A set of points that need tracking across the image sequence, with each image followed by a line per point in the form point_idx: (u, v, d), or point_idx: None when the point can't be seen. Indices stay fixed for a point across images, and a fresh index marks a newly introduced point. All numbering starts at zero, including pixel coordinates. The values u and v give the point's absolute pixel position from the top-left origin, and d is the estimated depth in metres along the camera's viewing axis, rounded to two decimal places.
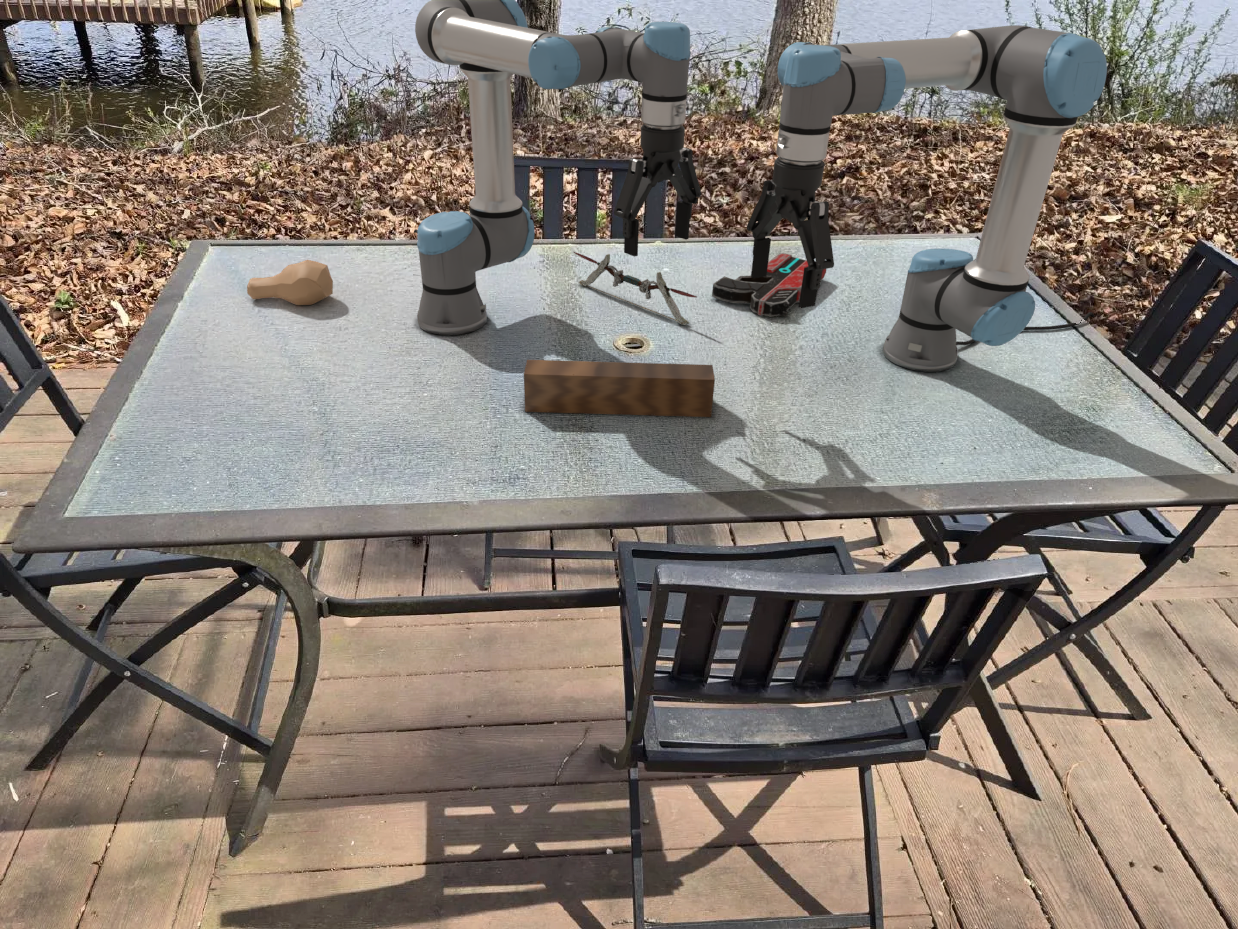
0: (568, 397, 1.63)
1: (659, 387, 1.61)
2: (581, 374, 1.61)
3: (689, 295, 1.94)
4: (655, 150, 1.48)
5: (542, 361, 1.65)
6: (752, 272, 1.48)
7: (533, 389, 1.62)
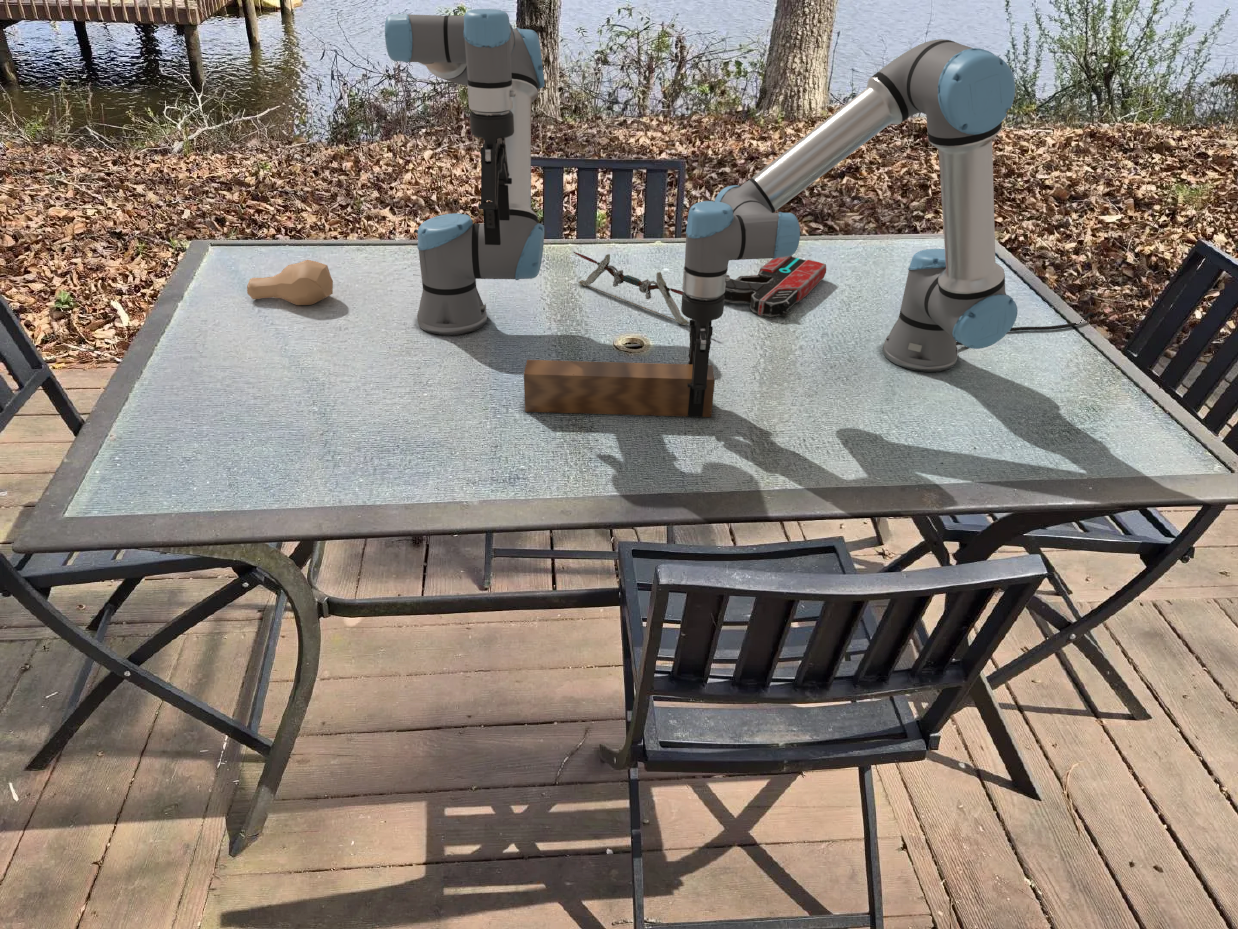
0: (568, 397, 1.63)
1: (659, 387, 1.61)
2: (581, 374, 1.61)
3: None
4: (499, 136, 1.50)
5: (542, 361, 1.65)
6: (702, 411, 1.64)
7: (533, 389, 1.62)
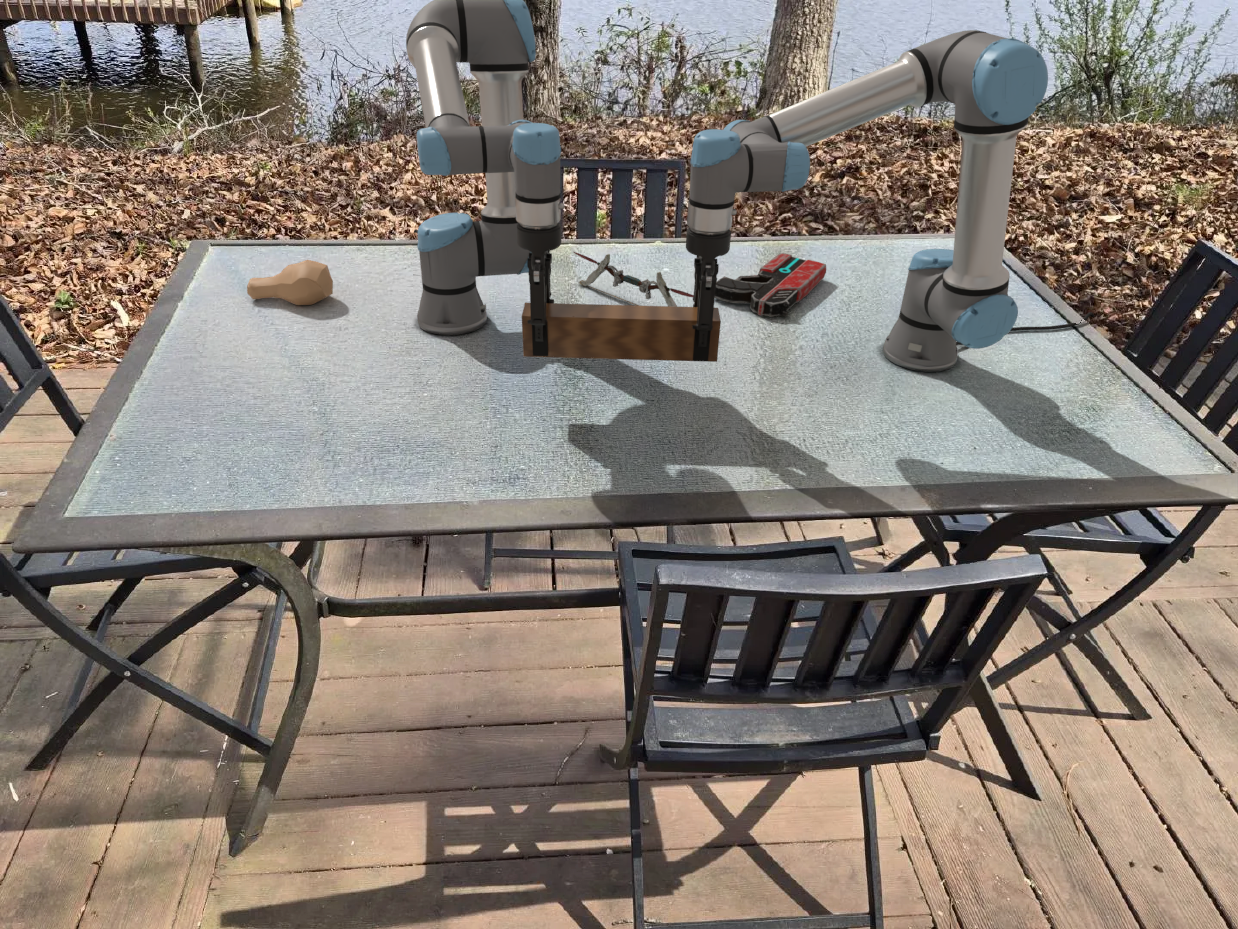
0: (567, 340, 1.56)
1: (662, 329, 1.55)
2: (581, 316, 1.54)
3: (689, 295, 1.94)
4: (547, 249, 1.47)
5: None
6: (708, 355, 1.57)
7: (531, 332, 1.56)
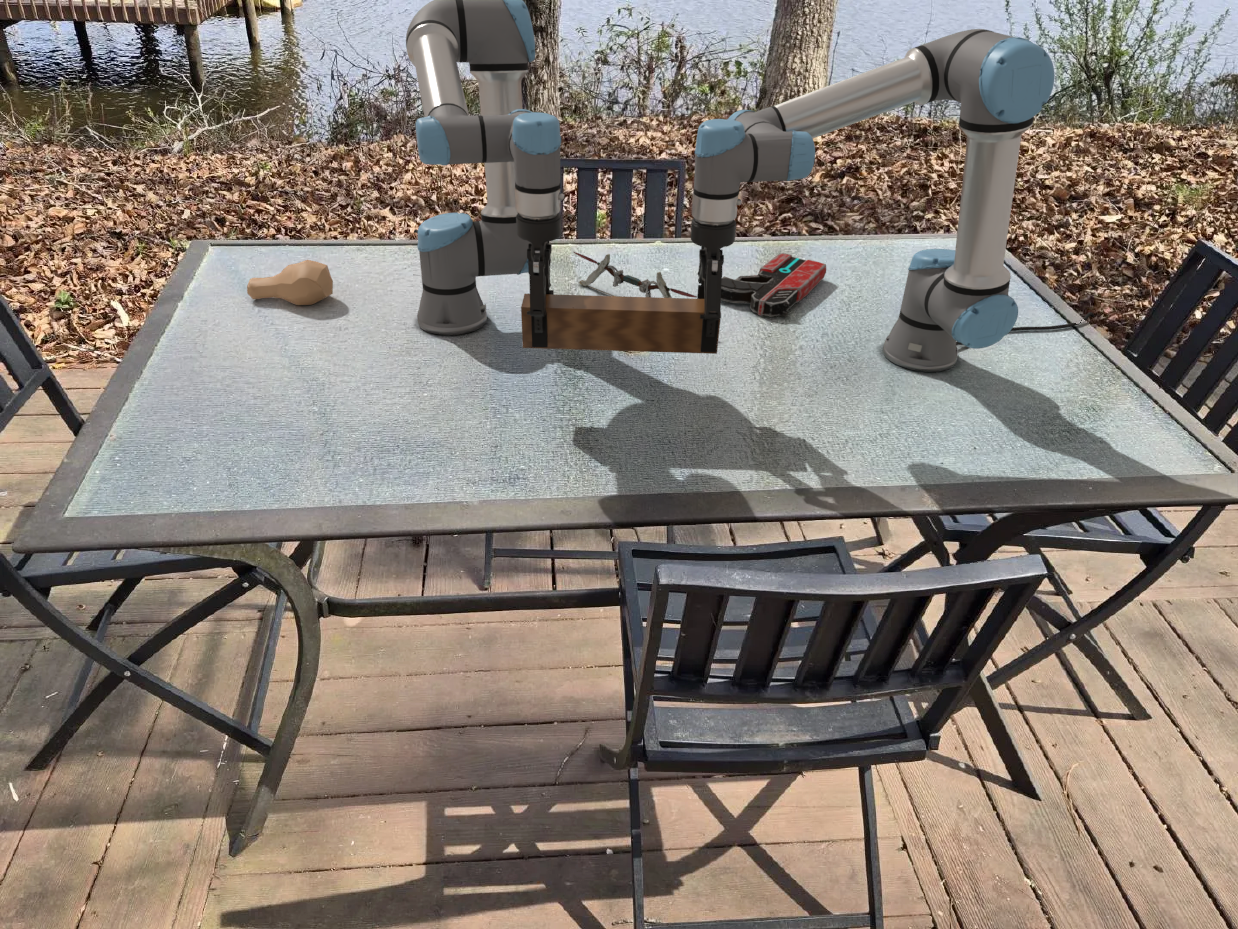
0: (567, 332, 1.56)
1: (662, 321, 1.54)
2: (581, 307, 1.54)
3: (689, 295, 1.94)
4: (547, 240, 1.46)
5: None
6: (716, 346, 1.52)
7: (530, 323, 1.55)
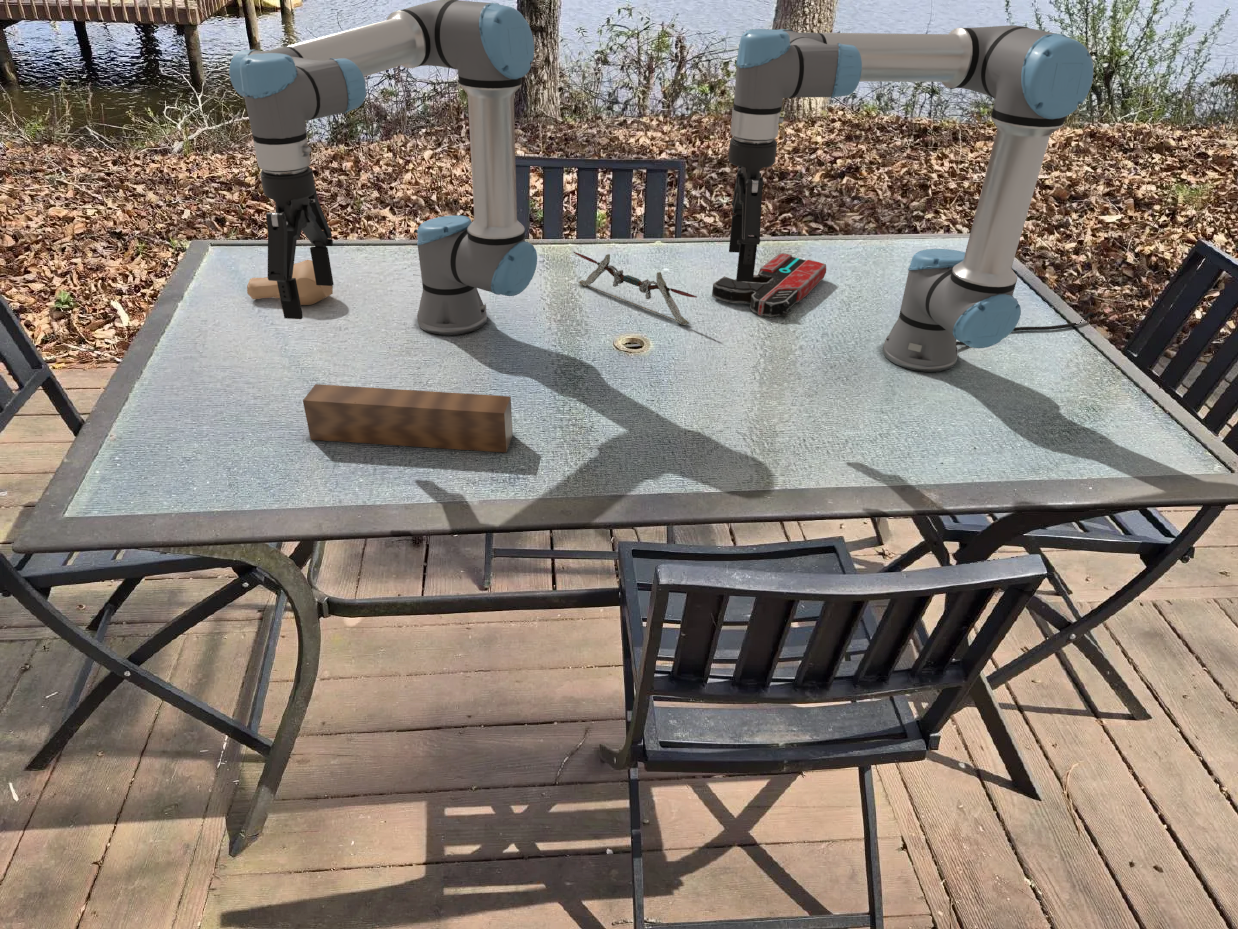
0: (352, 425, 1.52)
1: (446, 418, 1.50)
2: (363, 402, 1.50)
3: (689, 295, 1.94)
4: (291, 198, 1.30)
5: (330, 386, 1.55)
6: None
7: (314, 416, 1.52)
